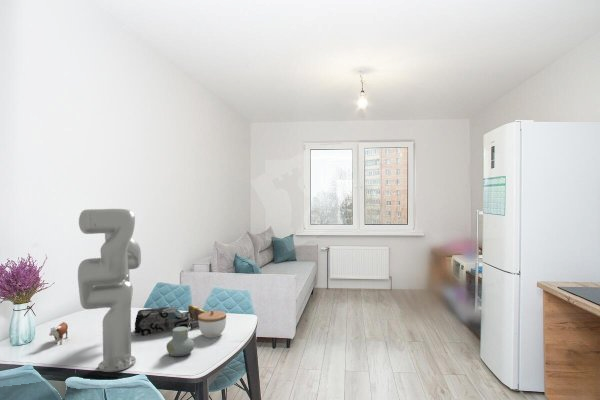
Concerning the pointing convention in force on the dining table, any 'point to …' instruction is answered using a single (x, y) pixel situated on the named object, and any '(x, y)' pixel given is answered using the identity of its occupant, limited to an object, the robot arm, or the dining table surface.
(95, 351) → the dining table surface
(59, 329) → the bull figurine
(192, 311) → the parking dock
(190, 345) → the air freshener
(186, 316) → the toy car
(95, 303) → the robot arm
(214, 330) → the lidded bowl
